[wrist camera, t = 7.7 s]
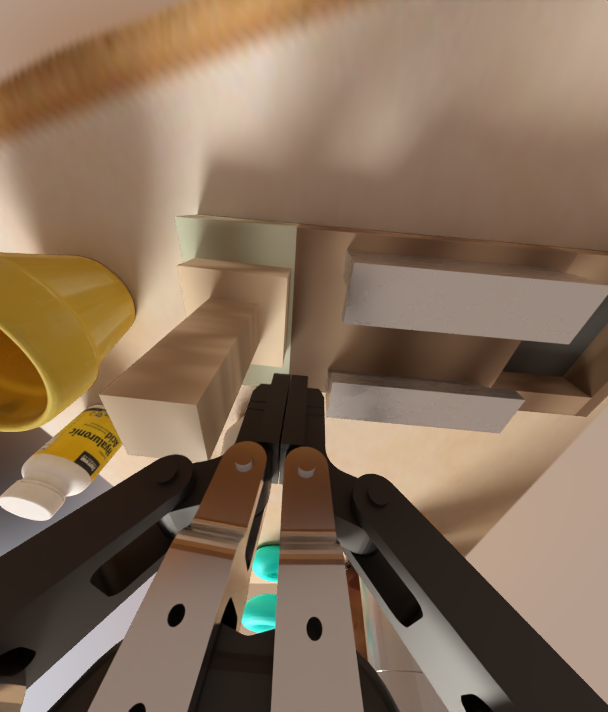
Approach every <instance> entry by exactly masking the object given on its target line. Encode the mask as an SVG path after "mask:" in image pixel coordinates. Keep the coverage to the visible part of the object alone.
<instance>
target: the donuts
mask: <svg viewBox="0 0 608 712" xmlns="http://www.w3.org/2000/svg"><path fill="white" fill-rule="evenodd" d="M279 548H280V546H277V545H271V546H265V547H262V548H259V549H258V550H257V551H256V553H255V557H254V562H253V566H252V569H253V571H254V572H255V574H256V575H257V576H259V577H260V578H262V579H264V580H267V581H271V582H278V567H279ZM276 605H277V595H273V594H263V595H258V596H255V597H253V598H251V599H250V600H249V601H247V602H246V604H245V609H244V613H243V617H242V623H243V625H244V627H246V628H247V629H249V630H251V631H254V632H257V633H261V632H265V631H268V630H272V629H275V624H276Z"/></svg>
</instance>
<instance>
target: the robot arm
mask: <svg viewBox="0 0 608 712" xmlns="http://www.w3.org/2000/svg"><path fill="white" fill-rule="evenodd" d="M290 380H291V383H290ZM307 386H308V376H302V375H292V376H291V374H280V373H274V375H273V379H272V382H271V384H262V383H261V384H260V385H259V386H258V387H257V388H256V389H255V390H254V391H253V393H252V396H251V399H250V402H249V405H248V408H247V410H246V413H245V416H244V419H243V422H242V425H241V428H240V430H239V433H238V436H237V439H236V441H235V443H234V445H232V446H231V447H230V448H229V449H227V451H226V452H225V453H224V455H222V456H220V457H218V458H215V459H211V460H207V461H202V462H197V463H192V462H191V461H190V459H189V458H187V457H186V456H183V455H179V454H173V455H168V456H165V457H162V458H160V459H158V460H156V461H155V462H153V463H151V464H150V465H148V466H147V467H145V468H143V469H142V470H140V471H139V472H137V473H135V474H134V475H132V476H130V477H129V478H127V479H126V480H124V481H122V482H121V483H119V484H117V485H116V486H114V487H113V488H111V489H109V490H108V491H106V492H105V493H103V494H101V495H100V496H98V497H96V498H95V499H93V500H92V501H90V502H88V503H87V504H85V505H83V506H82V507H80V508H79V509H77V510H75V511H74V512H72V513H71V514H69V515H67V516H66V517H64V518H62V519H61V520H59V521H58V522H56V523H54V524H53V525H51V526H50V527H48V528H46V529H45V530H43V531H41V532H40V533H39V534H37V535H35V536H33V537H32V538H30V539H29V540H27V541H25V542H24V543H22V544H20V545H19V546H17V547H16V548H14V549H12V550H11V551H9V552H7V553H6V554H4V555H3V556H1V557H0V712H20V709H21V706H22V704H23V700H24V696H25V692H26V689H28V688H29V687H30V686H31V685H32V684H33V683H34V682H35V681H36V680H38V678H40V677H41V676H42V675H43V674H44V673H45V672H46V671H47V670H49V669H50V668H51V667H52V666H53V665H54V664H55V663H56V662H57V661H58V660H60V659H61V658H62V657H63V656H64V655H65V654H66V653H67V652H68V651H69V650H71V649H72V648H73V647H74V646H75V645H76V644H77V643H78V642H79V641H80V640H82V639H83V638H84V637H85V636H86V635H87V634H88V633H89V632H91V630H93V629H94V628H95V627H96V626H97V625H98V624H99V623H100V622H102V621H103V620H104V619H105V618H106V617H107V616H108V615H109V614H110V613H111V612H113V611H114V610H115V609H116V608H117V607H118V606H119V605H120V604H121V603H123V602H124V601H125V600H126V599H127V598H128V597H129V596H130V595H131V594H132V593H134V592H135V591H136V590H137V589H138V588H139V587H140V586H141V585H142V584H143V583H145V582H146V581H147V580H148V579H149V578H150V577H151V576H152V575H153V574H155V573H156V572H157V573H156V576H155V577H154V579H153V582H152V583H151V585H150V587H149V589H148V591H147V593H146V596H145V597H144V599H143V601H142V603H141V605H140V608H139V610H138V611H137V613H136V615H135V617H134V619H133V621H132V623H131V625H130V627H129V630H128V631H127V634H126V635H125V637H124V639H123V640H121V641H120V642H119V643H118V644H116V645H115V646H113V647H112V648H111V649H110V650H109V651H108V652H107V653H105V654H104V655H103V656H102V657H101V658H100V659H98V660H97V662H95V663H94V664H93V665H92V666H91V667H90V669H88V670H87V671H86V672H85V673H84V674H83V675H82V676H81V678H80V679H79V680H78V681H77V682H76V683H75V684H74V685H73V686H72V687H71V688H70V689H69V690H68V691H67V692H66V693H65V694H64V695H63V696H62V697H61V698H60V699H59V700H58V701H57V702H56V703H55V704H54V705H53V706H52V707H51V708H50V709H49V710H48V711H47V712H608V705H607V704H606V703H605V702H604V701H603V700H602V699H601V698H600V697H599V696H598V695H597V694H596V693H595V692H594V690H593V689H592V688H591V687H590V686H589V685H588V684H587V683H586V682H585V681H584V680H583V679H582V678H581V677H580V676H579V675H578V674H577V673H576V672H575V671H574V670H573V669H572V668H571V667H570V666H569V665H568V664H567V663H566V662H565V661H564V660H563V659H562V658H561V657H560V656H559V655H558V653H557V652H556V651H555V650H553V648H552V647H551V646H550V645H549V644H548V643H547V642H546V641H545V640H544V639H543V638H542V637H541V636H540V635H539V634H538V633H537V632H536V631H535V630H534V629H533V628H532V627H531V626H530V625H529V624H528V623H527V622H526V621H525V620H524V619H523V618H522V617H521V616H520V614H519V613H518V612H517V611H515V610H514V608H513V607H512V606H511V605H510V604H509V603H508V602H507V601H506V600H505V599H504V598H503V597H502V596H501V595H500V594H499V593H498V592H497V591H496V590H495V589H494V588H493V587H492V586H491V585H490V584H489V583H488V582H487V581H486V580H485V579H484V578H483V577H482V576H481V574H480V573H479V572H478V571H476V569H475V568H474V567H473V566H472V565H471V564H470V563H469V562H468V561H467V560H466V559H465V558H464V557H463V556H462V555H461V554H460V553H459V552H458V551H457V550H456V549H455V548H454V547H453V546H452V545H451V544H450V543H449V542H448V541H447V539H446V538H445V537H444V536H443V535H442V534H441V533H440V532H439V531H438V530H437V529H436V528H435V527H434V526H433V525H432V524H431V523H430V522H429V521H428V520H427V519H426V518H425V517H424V516H423V515H422V514H421V513H420V512H419V511H418V510H417V509H416V508H415V507H414V506H413V505H412V504H411V503H410V502H409V500H408V499H407V498H406V497H405V496H404V495H403V494H402V493H401V492H400V491H399V490H398V489H397V488H396V487H395V486H394V485H393V484H392V483H391V482H390V481H388V480H387V479H386V478H384V477H382V476H379V475H376V474H365V475H362V476H361V477H359V478H356V477H354V476H352V475H349V474H347V473H345V472H342V471H341V470H339V469H337V468H336V467H335V466H334V465H333V464H332V463H331V462H330V460H329V459H328V457H327V454H326V450H325V417H324V397H323V395H322V393H321V391H320V390H319V389H316V388H307ZM279 471H280V479H279V484H283V492H282V511H281V530H280V548H279V567H278V586H277V605H276V624H275V629H272V630H268V631H265V632H261V633H258V634H255V635H250V636H246V635H243V634H241V633H239V630H240V626H241V621H242V617H243V613H244V609H245V604H246V600H247V595H248V589H249V582H250V575H251V570H252V566H253V562H254V557H255V553H256V549H257V545H258V541H259V537H260V533H261V529H262V525H263V521H264V516H265V512H266V508H267V503H268V499H269V494H270V488H271V483H275V484H278V477H279ZM342 550H343V551H342ZM343 552H344V553H345V555H346V557H347V558H348V560H349V561H350V563H351V564H352V566H353V567H354V569H355V570H356V572H357V573H358V575H359V582H360V592H361V601H362V610H363V620H364V629H365V638H366V648H367V657H368V661H367V659H366V658H365V657H364V656H362V655H361V654H360V653H359V652H358V651H357V650H356V648H355V640H354V632H353V624H352V616H351V609H350V601H349V593H348V585H347V578H346V570H345V562H344V556H343Z"/></svg>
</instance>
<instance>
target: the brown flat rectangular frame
mask: <svg viewBox="0 0 608 712" xmlns="http://www.w3.org/2000/svg"><path fill="white" fill-rule="evenodd" d="M174 218H175V223H176V228H177V234H178V239H179V244H180V250H181V255H182V260H183V263H184V262H186V261H188V260H191V259H193V258H202V259H211V260H220V261H229V262H238V263H247V264H256V265H265V266H274V267H283V268H291V284H290V299H289V315H288V330H287V346H286V354H285V358H284V363H283V367H273V366H264V365H254V364H250V366H249V369H248V371H247V373H246V376H245V378H244V380H243V383H242V385H251V386H259V385H260V384H261V383H262V384H271V382H272V379H273V375H274V373H280V374H291V376H292V375H302V376H308V386H307V388H316V389H319V390H320V391H321V392H325V382H326V376H327V370H328V369H331V370H342V371H353V372H363V373H374V374H385V375H396V376H407V377H417V378H428V379H439V380H450V381H460V382H471V383H480V384H481V385H482V386H483V387H492V388H503V389H514V390H515V391H516V392H517V393H519V394H520V395H521V396H522V397H523V398H524V399H525V401H524V403H523V404H522V405H521V407H520V408H519V409H518V410H519V411H530V412H541V413H552V414H562V415H573V416H584V417H586V416H587V415H589V414H590V413H591V412H592V411H593V410H594V409H595V408H596V407H597V406H598V405H599V404H600V403H601V402H602V401H603V400H604V399H605V398H606V397H607V396H608V295H607V296H606V298H605V299H604V300H603V302H602V303H601V304H600V305H599V307H598V308H597V309H596V311H595V312H594V313H593V314H592V316H591V317H590V318H589V319H588V321H587V322H586V323H585V325H584V326H583V327H582V328H581V330H580V331H579V332H578V334H577V335H576V336H575V337H574V339H573V340H572V341H571V343H570V344H559V343H548V342H537V341H526V340H515V339H505V338H494V337H483V336H472V335H461V334H450V333H439V332H429V331H418V330H407V329H396V328H385V327H374V326H363V325H353V324H343V320H342V312H343V306H344V300H345V294H346V289H347V288H346V285H345V282H344V279H343V270H344V263H345V257H346V251H347V250H357V251H368V252H379V253H390V254H401V255H412V256H423V257H434V258H445V259H456V260H467V261H478V262H489V263H500V264H511V265H522V266H533V267H544V268H552V269H556V270H559V271H563V272H566V273H570V274H573V275H577V276H580V277H584V278H587V279H591V280H595V281H598V282H602V283H605V284H608V252H606V251H595V250H584V249H573V248H562V247H551V246H540V245H529V244H517V243H506V242H495V241H484V240H473V239H462V238H451V237H440V236H429V235H418V234H407V233H396V232H385V231H374V230H363V229H352V228H341V227H330V226H319V225H308V224H297V223H286V222H275V221H264V220H253V219H242V218H230V217H219V216H208V215H197V214H196V215H186V216H176V217H174ZM290 383H291V380H290Z"/></svg>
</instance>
